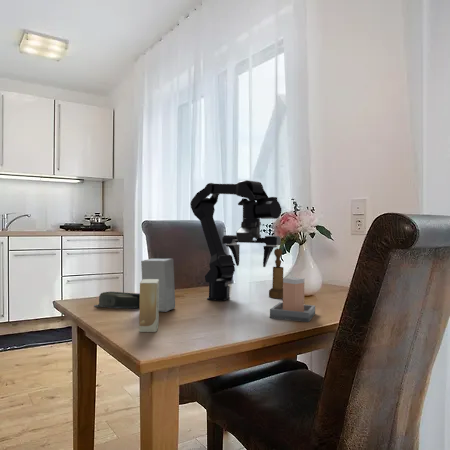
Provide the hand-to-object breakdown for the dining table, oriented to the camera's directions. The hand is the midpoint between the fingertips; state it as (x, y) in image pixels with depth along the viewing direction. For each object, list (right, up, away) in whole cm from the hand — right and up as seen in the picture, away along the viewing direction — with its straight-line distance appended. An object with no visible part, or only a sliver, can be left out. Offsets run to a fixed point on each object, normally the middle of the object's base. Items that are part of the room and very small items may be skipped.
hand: (250, 266), depth 127 cm
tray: (+12, -13, -13) cm, 22 cm away
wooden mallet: (+11, -13, +17) cm, 24 cm away
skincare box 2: (-28, -13, -30) cm, 43 cm away
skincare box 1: (-29, -13, -7) cm, 33 cm away
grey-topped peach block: (+12, -12, -14) cm, 22 cm away
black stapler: (-42, -13, -5) cm, 45 cm away
